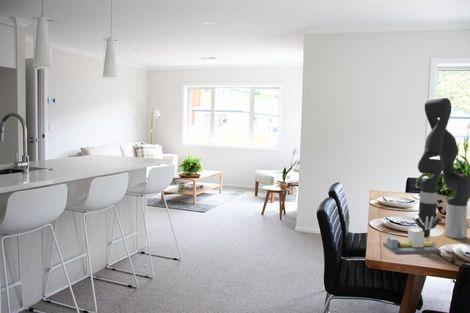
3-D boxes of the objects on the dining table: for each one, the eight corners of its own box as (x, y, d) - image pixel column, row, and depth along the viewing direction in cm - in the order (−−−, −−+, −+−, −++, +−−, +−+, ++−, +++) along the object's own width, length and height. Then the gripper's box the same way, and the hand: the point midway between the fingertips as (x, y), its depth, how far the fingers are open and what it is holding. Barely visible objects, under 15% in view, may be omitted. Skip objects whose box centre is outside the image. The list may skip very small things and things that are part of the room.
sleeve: (417, 243, 196) (418, 228, 195) (423, 247, 191) (424, 231, 190) (407, 243, 196) (408, 228, 195) (413, 247, 190) (414, 231, 190)
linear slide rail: (426, 244, 200) (426, 233, 200) (440, 252, 188) (441, 241, 188) (383, 245, 198) (383, 234, 198) (395, 253, 186) (395, 242, 186)
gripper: (436, 199, 196) (434, 234, 198) (410, 199, 194) (408, 235, 196) (446, 202, 188) (443, 239, 190) (419, 203, 187) (417, 239, 189)
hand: (425, 237), depth 193 cm, fingers closed
